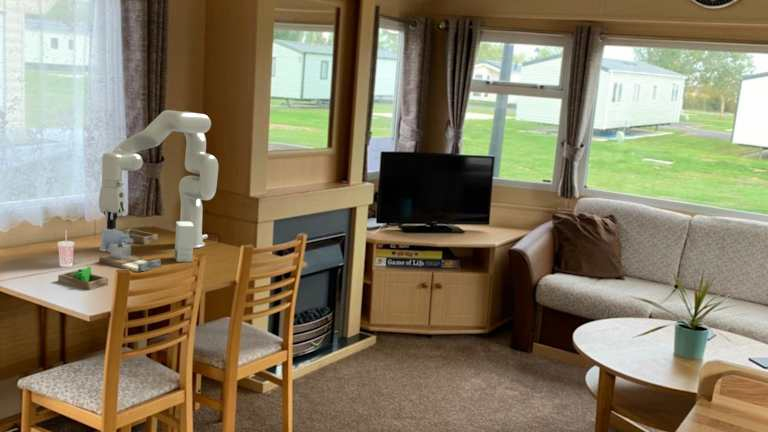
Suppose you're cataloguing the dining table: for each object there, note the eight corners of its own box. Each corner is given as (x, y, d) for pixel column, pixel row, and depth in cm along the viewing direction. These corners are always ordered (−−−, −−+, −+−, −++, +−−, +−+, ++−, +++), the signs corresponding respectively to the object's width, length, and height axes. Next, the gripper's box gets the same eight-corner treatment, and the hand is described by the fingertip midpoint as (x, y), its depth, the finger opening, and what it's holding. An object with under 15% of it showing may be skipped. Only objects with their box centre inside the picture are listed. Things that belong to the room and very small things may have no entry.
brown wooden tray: (76, 276, 283) (76, 270, 283) (107, 284, 277) (108, 278, 276) (58, 281, 275) (58, 275, 275) (89, 289, 269) (89, 283, 269)
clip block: (120, 255, 310) (120, 240, 309) (130, 257, 308) (131, 243, 307) (110, 257, 305) (110, 243, 304) (120, 260, 303) (121, 245, 302)
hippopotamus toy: (124, 254, 319) (124, 232, 317) (93, 250, 323) (93, 228, 321) (138, 249, 329) (139, 228, 328) (108, 245, 333) (108, 223, 331)
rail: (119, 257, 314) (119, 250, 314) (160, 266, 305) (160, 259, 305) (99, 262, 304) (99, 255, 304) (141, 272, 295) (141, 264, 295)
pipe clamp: (80, 278, 281) (80, 266, 280) (91, 278, 282) (91, 266, 281) (73, 287, 270) (73, 275, 269) (84, 287, 271) (84, 275, 270)
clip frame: (130, 235, 353) (130, 228, 353) (157, 241, 347) (157, 234, 346) (116, 238, 346) (116, 231, 345) (144, 244, 339) (144, 237, 338)
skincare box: (174, 257, 321) (175, 221, 318) (190, 256, 324) (191, 221, 321) (177, 262, 314) (178, 225, 311) (193, 261, 316) (194, 225, 314)
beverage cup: (58, 267, 293) (58, 232, 290) (57, 263, 298) (56, 228, 296) (75, 266, 296) (75, 231, 293) (73, 262, 301) (73, 228, 299)
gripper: (133, 185, 303) (132, 230, 307) (104, 180, 309) (103, 224, 313) (119, 187, 297) (119, 233, 300) (90, 182, 302) (90, 227, 306)
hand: (111, 228), depth 306 cm, fingers closed
